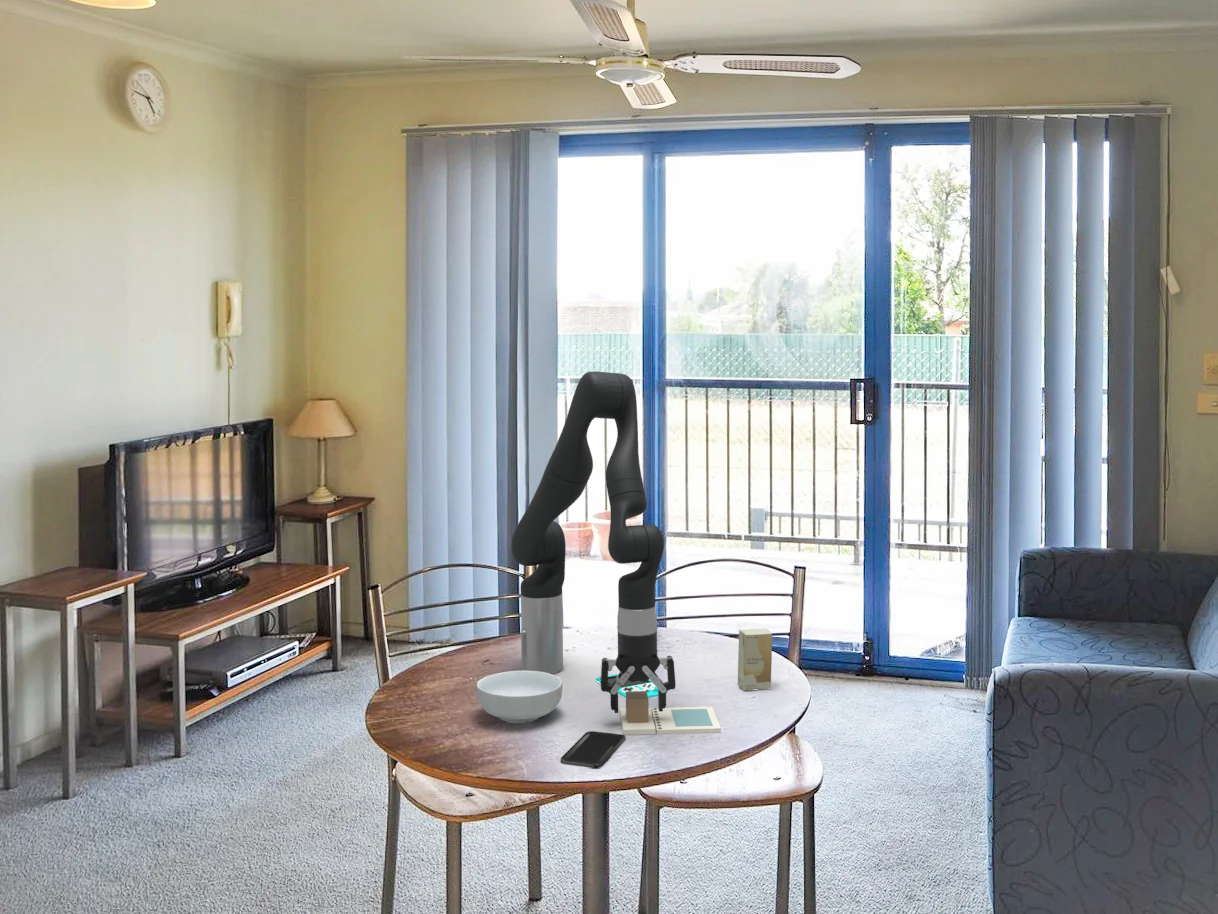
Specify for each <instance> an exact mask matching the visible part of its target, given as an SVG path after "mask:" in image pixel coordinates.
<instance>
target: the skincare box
mask: <svg viewBox="0 0 1218 914" xmlns="http://www.w3.org/2000/svg"><path fill="white" fill-rule="evenodd" d="M737 656H738V658H737V660H738V661H737V686H740V687H741V688H740V687H739V688H740V689H741V690H743V691H744V690H748V691H754V690H753V689H764V690H770V689H769V688H772V665H773V664H772V662H773V661H772V656H773V633H772V631H770V630H769V629H767V628H766V627H765V628H748V629H747V628H746V629H739V630H738V655H737Z"/></svg>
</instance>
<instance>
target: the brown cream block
mask: <svg viewBox="0 0 1218 914" xmlns="http://www.w3.org/2000/svg"><path fill="white" fill-rule="evenodd" d="M619 716H620V722H621V729H622V735H625V736H635V735H636V736H639V735H640V736H641V735H656V728H655V724H654V720H653V715H652V707H651V706H649V698H648V696H647V691H629V692H626V698H625V707H619Z"/></svg>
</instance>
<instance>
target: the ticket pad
mask: <svg viewBox="0 0 1218 914" xmlns="http://www.w3.org/2000/svg"><path fill="white" fill-rule="evenodd" d="M651 713H652V717H653V721H654V725H655V733H656V735H682V734H683V735H684V734H688V735H689V734H719V733H720V734H721V732H722V730H721V728H722V727H721V726H720V723H719V721H718V718H717V716H716V713H715V710H714V707H713V706H689V707H688V706H683V707H677V706H676V707H666V708H663V711H660V712H659V709H658V707H651Z"/></svg>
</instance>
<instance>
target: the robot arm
mask: <svg viewBox="0 0 1218 914" xmlns="http://www.w3.org/2000/svg"><path fill="white" fill-rule="evenodd" d="M633 382H634V381H633V380H632V379H631V377H630V375H627V374H624V373H620V372H618V373H617V372H606V371H596V370H595V371H594V370H593V371H588V372H585V373H584V374H583V375H582V376H581V377H580V379H579V380H578V383H577V385H576V387H575V390H574V393H573V397H572V400H571V403H570V407H569V409H568V412H567V416H566V419H565V422H564V424H563V427H562V429H561V432H560V435H559V437H558V440H557V442H556V445H555V447H554V449H553V451H552V453H551V456H550V458H549V460H548V462H547V463H546V467H545V468H544V471H543V474H542V477H541V480H540V482H539V485H538V487H537V489H536V490H535V492H534V495H533V496H532V499H531V501H530V503H529V505H528V507H526V509H525V510H526V511H524V514H523V515H522V517H521V519H520V520H519V522H518V523H517V525H516V527H515V529H514V532H513V534H512V538H511V546H510V547H511V548H510V549H511V554H512V558H513V559H514V560H515V562H516V563H518V564H519V565H521V566H527V567H528V566H529V567H530V566H537V568H536V569H535V570H534V572H532V573H531V574H530V575H529V576H527V577H525V578H524V579H523V580H522V581H521V583H520V620H521V621H520V623H521V624H520V626H521V629H520V648H521V649H520V652H521V654H520V655H521V659H520V660H521V671H539V672H545V673H549V674H552V675H554V674H556V673H558V672H561V671H563V670H564V632H563V631H564V629H563V626H564V625H563V624H564V623H563V585H564V583H565V576H566V575H565V574H566V553H567V551H566V550H567V547H566V546H567V545H566V538H565V532H564V530H563V528H562V526H561V525H560V524H559V523H558V522H557V521H555V520H556V519H557V518H558V517H559V516H561V515H562V514H563V513H564V512H565V511H566V510H567V509H569V508H570V507H571V506H572V505H573V504H574V503H575V502H576V501H577V500H578V499H579V498H580V497H581V495H582V494H583V492H584V491H585V488H586V486H587V485H588V483H589V480H590V477H591V476H592V473H593V470H594V461H593V456H592V452H591V448H590V446H589V443H588V438H587V434H588V431H589V427H590V425H591V423H592V421H593V420H594V419H604V420H605V419H606V420H607V419H608V420H614V421H615V426H616V430H617V431H616V432H617V437H616V441H615V445H614V447H613V449H612V452H611V455H610V457H609V459H608V462H607V465H606V470H605V486H606V490H607V496H608V502H609V508H610V509H609V510H610V521H609V523H610V524H609V525H610V526H609V532H608V541H607V542H608V543H607V550H608V553H609V556H610V558H611V559H612V561H614V562H616V563H617V564H623V565H624V564H635V563H640V565H639V567H638V568H637V569H636V570H635V571H631V572H629V573H627V574H624V575H622V576H620V577H619V579H618V584H617V585H618V587H617V590H618V593H617V594H618V607H617V608H618V609H617V618H616V619H617V625H616V629H617V657H616V658H615V659H608V658H607V657H603V658H602V659H601V667H600V668H601V670H600V671H601V672H600V677H601V684H600V689H601V691H602V692H605V693H609V694H610V695H609V696H610V698H609V699H610V709H611V711H614V714H619V694H618V690H619V689H620V688H621V686H623V685H624V683H625V682H626V681H627V680H628V681H630V682H636V681H642V682H646V681H647V680H649V679H650V680H651V681H652V682H653V684H654V685H655V686H656V687H657V688H658V689H659V690H658V696H657V704H658V705H657V708H658V709H659V712H660V711H663V708H667V693H668V692H667V691H670V690H675V689H676V671H675V661H674V658H673V656H672V655H667V656H666V657H661V658H660V657H659V656H658V622H657V619H658V618H657V617H658V616H657V609H656V583H657V578H658V572H659V568H660V564H661V562H662V558H663V554H664V549H665V537H664V534H663V532H662V530H661V529H660V527H658V526H657V525H655V524H639V525H636V524H635V525H627V520H628V519H632V518H635V517H637V516H640V515H642V514H644V513H645V511H646V510H647V506H648V504H647V498H646V492H645V488H644V487H645V486H644V481H643V478H642V470H641V464H640V456H639V429H638V428H639V426H638V404H637V403H638V402H637V393H636V389H635V384H634V383H633ZM660 665H661V666H662V668H663V669H664V670H666V673H667V681H665V682H663V681H662V680H661V678H660V677H659V675H658V674H657V672H656V671H657V670H658V668H659V667H660ZM613 667H616V668H617V670H618V671H619V673H617V674H618V676H617V677H616V679H615V681H614V682H613V683H612V685H611V684H608V676H609V672H611V671H612V670H613ZM623 679H624V680H623ZM666 692H667V693H666Z"/></svg>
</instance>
